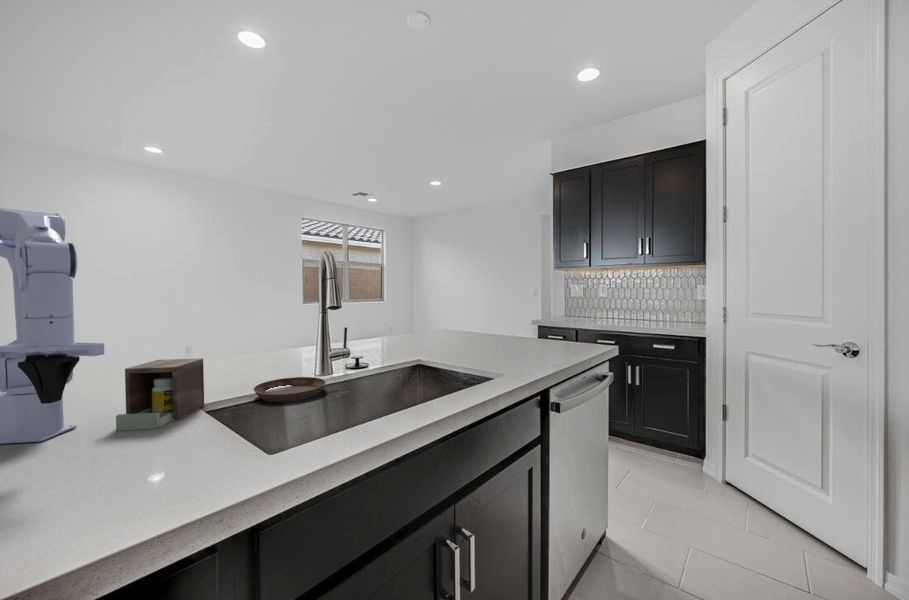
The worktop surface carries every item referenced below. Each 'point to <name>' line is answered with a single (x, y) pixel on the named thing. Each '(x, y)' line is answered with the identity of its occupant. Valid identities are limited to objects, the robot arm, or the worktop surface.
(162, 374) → the wooden open box
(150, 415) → the tray
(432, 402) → the worktop surface
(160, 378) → the supplement bottle
